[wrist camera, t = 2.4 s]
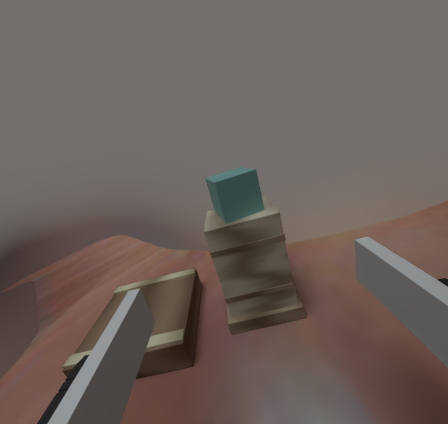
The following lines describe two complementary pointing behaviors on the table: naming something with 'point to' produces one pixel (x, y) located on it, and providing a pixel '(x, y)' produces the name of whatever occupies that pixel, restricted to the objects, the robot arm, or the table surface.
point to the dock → (157, 322)
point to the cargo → (235, 194)
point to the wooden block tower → (253, 269)
